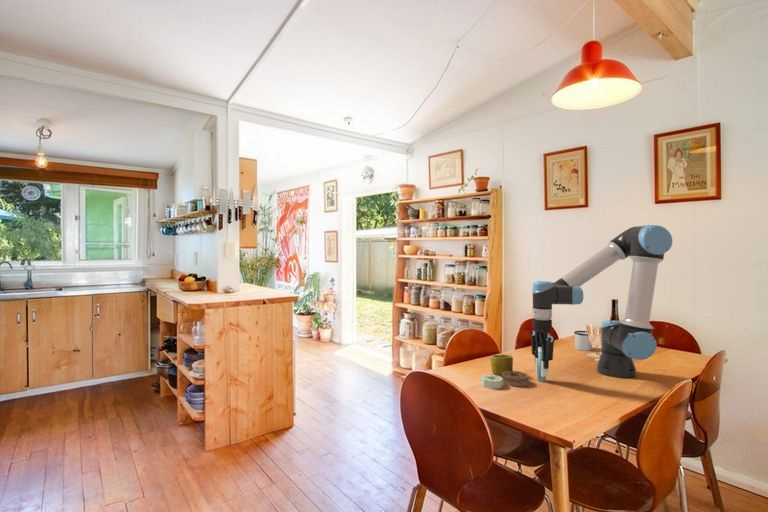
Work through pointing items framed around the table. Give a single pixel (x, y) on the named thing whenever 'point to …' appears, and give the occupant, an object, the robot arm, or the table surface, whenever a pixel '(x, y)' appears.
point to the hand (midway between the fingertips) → (541, 374)
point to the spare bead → (492, 381)
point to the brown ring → (515, 378)
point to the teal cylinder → (540, 357)
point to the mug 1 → (501, 364)
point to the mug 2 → (582, 341)
